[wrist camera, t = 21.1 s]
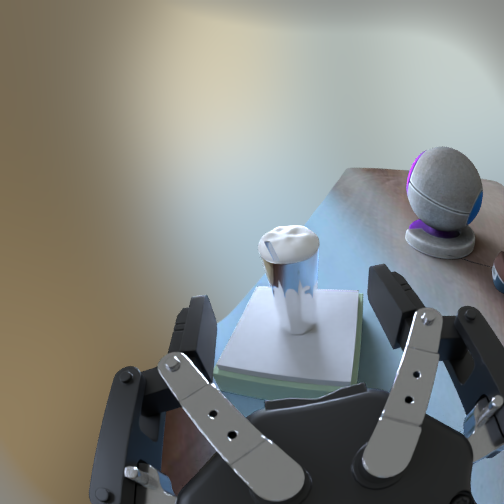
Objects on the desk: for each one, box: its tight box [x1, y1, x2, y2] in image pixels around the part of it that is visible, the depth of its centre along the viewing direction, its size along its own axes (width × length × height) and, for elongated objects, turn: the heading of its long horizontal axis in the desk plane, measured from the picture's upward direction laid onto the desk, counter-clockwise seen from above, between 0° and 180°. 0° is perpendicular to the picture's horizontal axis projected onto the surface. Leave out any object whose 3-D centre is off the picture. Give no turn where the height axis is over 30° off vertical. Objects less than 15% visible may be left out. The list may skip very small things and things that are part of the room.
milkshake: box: [258, 226, 319, 335], centre depth 22 cm, size 5×5×10 cm
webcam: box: [405, 147, 483, 259], centre depth 34 cm, size 13×13×15 cm
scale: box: [213, 286, 363, 400], centre depth 25 cm, size 12×12×4 cm
